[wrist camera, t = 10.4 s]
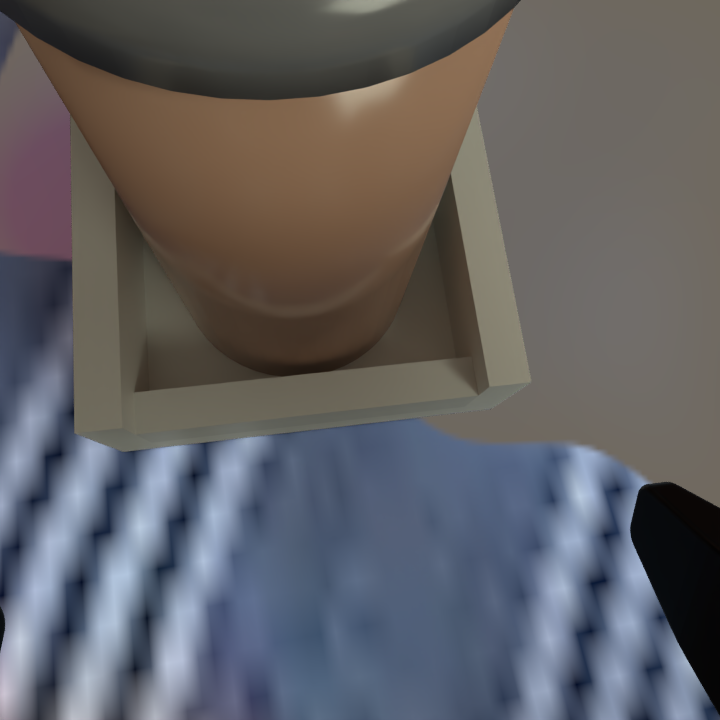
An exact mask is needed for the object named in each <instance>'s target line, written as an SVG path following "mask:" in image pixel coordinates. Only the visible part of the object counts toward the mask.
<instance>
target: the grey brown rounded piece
mask: <svg viewBox="0 0 720 720" xmlns="http://www.w3.org/2000/svg"><path fill="white" fill-rule="evenodd" d="M520 1H521V0H0V11H1V12H2V13H4V14H5V15H6V16H8V17H9V18H10V19H12V20H13V21H14V22H15V23H16V24H17V26H18V28H19V29H20V31H21V33H22V34H23V36H24V38H25V39H26V41H27V42H28V44H29V46H30V48H31V49H32V51H33V53H34V54H35V56H36V58H37V59H38V61H39V62H40V64H41V66H42V68H43V69H44V71H45V73H46V74H47V76H48V78H49V79H50V81H51V83H52V84H53V86H54V88H55V89H56V91H57V93H58V94H59V96H60V98H61V99H62V101H63V103H64V104H65V106H66V107H67V109H68V111H69V113H70V114H71V116H72V118H73V119H74V121H75V123H76V124H77V126H78V128H79V130H80V131H81V133H82V135H83V136H84V138H85V140H86V141H87V143H88V145H89V146H90V148H91V150H92V151H93V153H94V155H95V156H96V158H97V160H98V161H99V163H100V165H101V166H102V168H103V170H104V171H105V173H106V175H107V176H108V178H109V180H110V181H111V183H112V185H113V186H114V188H115V190H116V191H117V193H118V195H119V196H120V198H121V200H122V201H123V203H124V205H125V206H126V208H127V210H128V211H129V213H130V215H131V216H132V218H133V220H134V221H135V223H136V225H137V226H138V228H139V230H140V231H141V233H142V235H143V236H144V238H145V240H146V241H147V243H148V245H149V246H150V248H151V250H152V251H153V253H154V255H155V256H156V258H157V260H158V261H159V263H160V265H161V266H162V268H163V270H164V271H165V273H166V275H167V276H168V278H169V280H170V281H171V283H172V285H173V286H174V288H175V290H176V291H177V293H178V295H179V296H180V298H181V300H182V301H183V303H184V305H185V306H186V308H187V310H188V311H189V313H190V315H191V316H192V318H193V320H194V321H195V323H196V325H197V326H198V328H199V329H200V331H201V332H202V333H203V335H204V336H205V337H206V338H207V340H208V341H209V342H210V343H211V344H212V345H213V346H214V347H215V348H216V349H218V350H219V351H220V352H222V353H223V354H224V355H225V356H227V357H228V358H230V359H231V360H233V361H235V362H237V363H238V364H240V365H242V366H244V367H247V368H249V369H252V370H254V371H257V372H261V373H265V374H268V375H274V376H281V377H284V376H293V375H302V374H312V373H321V372H330V371H333V370H336V369H338V368H341V367H344V366H346V365H347V364H349V363H351V362H353V361H355V360H356V359H358V358H359V357H361V356H362V355H364V354H365V353H366V352H368V351H369V350H370V349H371V348H372V347H373V346H374V345H375V344H376V343H377V342H378V341H379V340H380V339H381V338H382V337H383V335H384V334H385V333H386V331H387V330H388V329H389V327H390V325H391V324H392V322H393V320H394V319H395V317H396V314H397V312H398V310H399V307H400V305H401V302H402V299H403V297H404V294H405V292H406V289H407V286H408V284H409V281H410V279H411V276H412V273H413V271H414V268H415V265H416V263H417V260H418V258H419V255H420V252H421V250H422V247H423V245H424V242H425V239H426V237H427V234H428V231H429V229H430V226H431V224H432V221H433V218H434V216H435V213H436V211H437V208H438V205H439V203H440V200H441V198H442V195H443V192H444V190H445V187H446V184H447V182H448V179H449V177H450V174H451V171H452V169H453V166H454V164H455V161H456V158H457V156H458V153H459V150H460V148H461V145H462V143H463V140H464V137H465V135H466V132H467V130H468V127H469V124H470V122H471V119H472V117H473V114H474V111H475V109H476V106H477V103H478V101H479V98H480V95H481V93H482V90H483V88H484V85H485V83H486V80H487V77H488V75H489V72H490V69H491V67H492V64H493V62H494V59H495V56H496V54H497V51H498V49H499V46H500V43H501V41H502V38H503V35H504V33H505V30H506V28H507V25H508V22H509V20H510V17H511V14H512V12H513V9H514V8H515V6H516V5H517V4H518V3H519V2H520Z"/></svg>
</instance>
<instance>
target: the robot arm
mask: <svg viewBox="0 0 720 720" xmlns="http://www.w3.org/2000/svg"><path fill="white" fill-rule="evenodd" d="M630 533H631V538H632V542H633V545H634V547H635V549H636V551H637V554H638V556H639V558H640V560H641V562H642V565H643V567H644V569H645V571H646V574H647V576H648V578H649V580H650V583H651V585H652V587H653V589H654V592H655V594H656V596H657V598H658V600H659V603H660V605H661V607H662V609H663V612H664V614H665V616H666V618H667V621H668V623H669V625H670V627H671V629H672V631H673V633H674V635H675V637H676V640H677V642H678V643H679V645H680V647H681V649H682V651H683V653H684V654H685V656H686V658H687V660H688V662H689V663H690V665H691V667H692V669H693V670H694V672H695V674H696V676H697V677H698V679H699V681H700V683H701V684H702V686H703V688H704V689H705V691H706V693H707V695H708V696H709V698H710V700H711V702H712V703H713V705H714V707H715V709H716V710H717V712H718V714H719V716H720V508H719V507H717V506H715V505H713V504H712V503H710V502H708V501H706V500H704V499H702V498H700V497H699V496H696V495H695V494H693V493H691V492H689V491H687V490H686V489H684V488H682V487H680V486H678V485H676V484H674V483H671V482H661V483H653V484H646V485H644V486H642V487H641V488H640V490H639V492H638V496H637V500H636V504H635V508H634V513H633V517H632V521H631V526H630ZM4 631H5V618H4V613H3V611H2V609H1V607H0V651H1V646H2V641H3V637H4Z"/></svg>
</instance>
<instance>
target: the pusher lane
mask: <svg viewBox="0 0 720 720" xmlns="http://www.w3.org/2000/svg"><path fill="white" fill-rule="evenodd" d="M70 128H71V129H70V135H71V208H72V209H71V210H72V283H73V356H74V430H75V434H77V435H80V436H83V437H85V438H88V439H91V440H93V441H96V442H98V443H101V444H104V445H106V446H109V447H112V448H114V449H117V450H120V451H122V452H126V451H135V450H143V449H152V448H160V447H169V446H178V445H186V444H195V443H204V442H212V441H221V440H230V439H238V438H247V437H255V436H264V435H273V434H281V433H290V432H299V431H307V430H316V429H325V428H333V427H342V426H351V425H359V424H368V423H376V422H385V421H394V420H402V419H411V418H420V417H428V416H437V415H445V414H454V413H463V412H471V411H480V410H488V409H492V408H493V407H495V406H496V405H498V404H499V403H501V402H502V401H504V400H505V399H507V398H508V397H510V396H511V395H513V394H515V393H516V392H518V391H519V390H521V389H522V388H524V387H525V386H527V385H528V384H530V383H531V377H530V372H529V367H528V362H527V357H526V352H525V347H524V341H523V336H522V332H521V326H520V322H519V317H518V311H517V306H516V301H515V296H514V291H513V286H512V282H511V276H510V271H509V267H508V261H507V256H506V251H505V246H504V241H503V236H502V231H501V227H500V221H499V216H498V211H497V206H496V201H495V196H494V191H493V186H492V181H491V176H490V171H489V166H488V160H487V155H486V151H485V146H484V141H483V135H482V130H481V125H480V120H479V116H478V110H477V106H476V109H475V111H474V114H473V117H472V119H471V122H470V124H469V127H468V130H467V132H466V135H465V137H464V140H463V143H462V145H461V148H460V150H459V153H458V156H457V158H456V161H455V164H454V166H453V169H452V171H451V174H450V177H449V179H448V182H447V184H446V187H445V190H444V192H443V195H442V198H441V200H440V203H439V205H438V208H437V211H436V213H435V216H434V218H433V221H432V224H431V226H430V229H429V231H428V234H427V237H426V239H425V242H424V245H423V247H422V250H421V252H420V255H419V258H418V260H417V263H416V265H415V268H414V271H413V273H412V276H411V279H410V281H409V284H408V286H407V289H406V292H405V294H404V297H403V299H402V302H401V305H400V307H399V310H398V312H397V314H396V317H395V319H394V320H393V322H392V324H391V325H390V327H389V329H388V330H387V331H386V333H385V334H384V335H383V337H382V338H381V339H380V340H379V341H378V342H377V343H376V344H375V345H374V346H373V347H372V348H371V349H370V350H369V351H368V352H366V353H365V354H364V355H362V356H361V357H359V358H358V359H356V360H355V361H353V362H351V363H349V364H347V365H346V366H344V367H341V368H338V369H336V370H333V371H330V372H321V373H312V374H302V375H293V376H284V377H281V376H274V375H268V374H265V373H261V372H257V371H254V370H252V369H249V368H247V367H244V366H242V365H240V364H238V363H237V362H235V361H233V360H231V359H230V358H228V357H227V356H225V355H224V354H223V353H222V352H220V351H219V350H218V349H216V348H215V347H214V346H213V345H212V344H211V343H210V342H209V341H208V340H207V338H206V337H205V336H204V335H203V333H202V332H201V331H200V329H199V328H198V326H197V325H196V323H195V321H194V320H193V318H192V316H191V315H190V313H189V311H188V310H187V308H186V306H185V305H184V303H183V301H182V300H181V298H180V296H179V295H178V293H177V291H176V290H175V288H174V286H173V285H172V283H171V281H170V280H169V278H168V276H167V275H166V273H165V271H164V270H163V268H162V266H161V265H160V263H159V261H158V260H157V258H156V256H155V255H154V253H153V251H152V250H151V248H150V246H149V245H148V243H147V241H146V240H145V238H144V236H143V235H142V233H141V231H140V230H139V228H138V226H137V225H136V223H135V221H134V220H133V218H132V216H131V215H130V213H129V211H128V210H127V208H126V206H125V205H124V203H123V201H122V200H121V198H120V196H119V195H118V193H117V191H116V190H115V188H114V186H113V185H112V183H111V181H110V180H109V178H108V176H107V175H106V173H105V171H104V170H103V168H102V166H101V165H100V163H99V161H98V160H97V158H96V156H95V155H94V153H93V151H92V150H91V148H90V146H89V145H88V143H87V141H86V140H85V138H84V136H83V135H82V133H81V131H80V130H79V128H78V126H77V124H76V123H75V121H74V119H73V118H72V116H71V114H70Z"/></svg>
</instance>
